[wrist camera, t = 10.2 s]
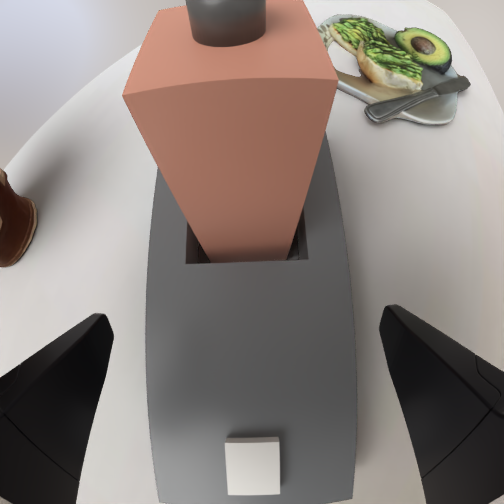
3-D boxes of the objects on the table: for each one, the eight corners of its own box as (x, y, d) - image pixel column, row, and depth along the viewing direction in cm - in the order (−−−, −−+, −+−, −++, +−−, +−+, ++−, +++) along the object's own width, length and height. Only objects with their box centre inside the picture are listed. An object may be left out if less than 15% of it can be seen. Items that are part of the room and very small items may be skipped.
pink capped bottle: (286, 260, 17) (352, 20, 4) (211, 263, 17) (96, 41, 4) (280, 193, 19) (305, -39, 5) (211, 197, 19) (149, -27, 5)
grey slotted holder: (338, 477, 13) (356, 505, 10) (173, 481, 13) (154, 508, 10) (315, 147, 20) (324, 111, 16) (175, 153, 20) (161, 119, 16)
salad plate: (448, 186, 19) (478, 155, 15) (260, 84, 22) (260, 43, 18) (465, 82, 24) (480, 57, 19) (339, 17, 27) (344, -11, 23)
